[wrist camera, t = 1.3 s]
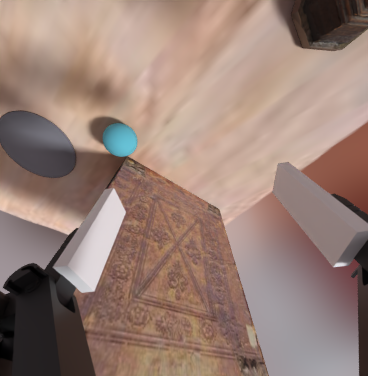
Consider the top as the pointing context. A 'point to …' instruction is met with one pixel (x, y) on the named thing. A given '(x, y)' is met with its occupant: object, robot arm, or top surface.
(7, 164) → the top surface
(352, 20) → the bird statue
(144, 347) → the book
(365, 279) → the robot arm
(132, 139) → the ball
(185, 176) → the top surface
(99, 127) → the top surface
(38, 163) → the disc
